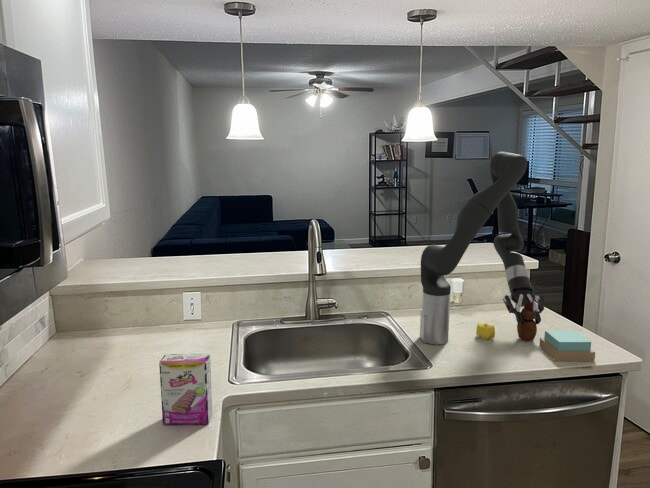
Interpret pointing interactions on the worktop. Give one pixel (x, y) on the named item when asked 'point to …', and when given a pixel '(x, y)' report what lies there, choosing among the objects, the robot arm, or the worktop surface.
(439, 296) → the robot arm
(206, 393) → the candy bar box
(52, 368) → the worktop surface
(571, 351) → the tower base
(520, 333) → the wooden figurine
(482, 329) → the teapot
